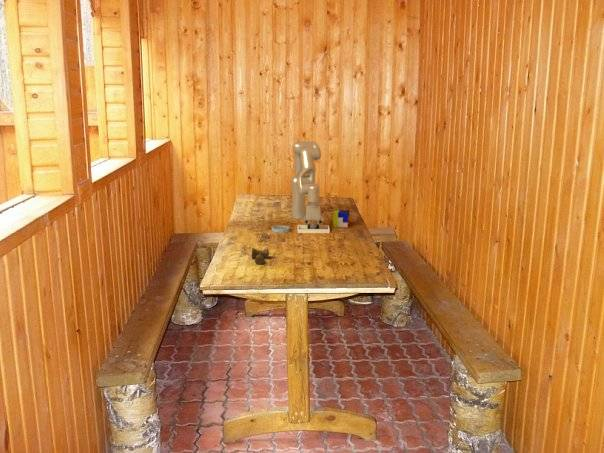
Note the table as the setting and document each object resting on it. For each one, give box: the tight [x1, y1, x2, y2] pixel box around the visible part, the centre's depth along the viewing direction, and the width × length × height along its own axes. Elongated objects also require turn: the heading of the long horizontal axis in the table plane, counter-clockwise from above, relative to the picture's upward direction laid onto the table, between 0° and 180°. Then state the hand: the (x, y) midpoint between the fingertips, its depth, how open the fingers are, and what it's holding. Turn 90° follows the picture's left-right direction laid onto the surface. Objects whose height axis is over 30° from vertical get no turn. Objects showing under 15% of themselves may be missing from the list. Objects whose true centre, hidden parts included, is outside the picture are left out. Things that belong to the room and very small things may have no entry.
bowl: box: [271, 225, 291, 234], centre depth 398 cm, size 12×12×2 cm
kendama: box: [251, 247, 270, 266], centre depth 329 cm, size 6×10×20 cm
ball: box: [310, 223, 317, 229], centre depth 397 cm, size 5×5×5 cm
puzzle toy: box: [332, 209, 350, 228], centre depth 414 cm, size 10×10×10 cm
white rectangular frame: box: [297, 224, 330, 234], centre depth 398 cm, size 13×21×2 cm, turn 90°
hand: (313, 229), depth 398 cm, fingers closed on ball, 4 cm apart
